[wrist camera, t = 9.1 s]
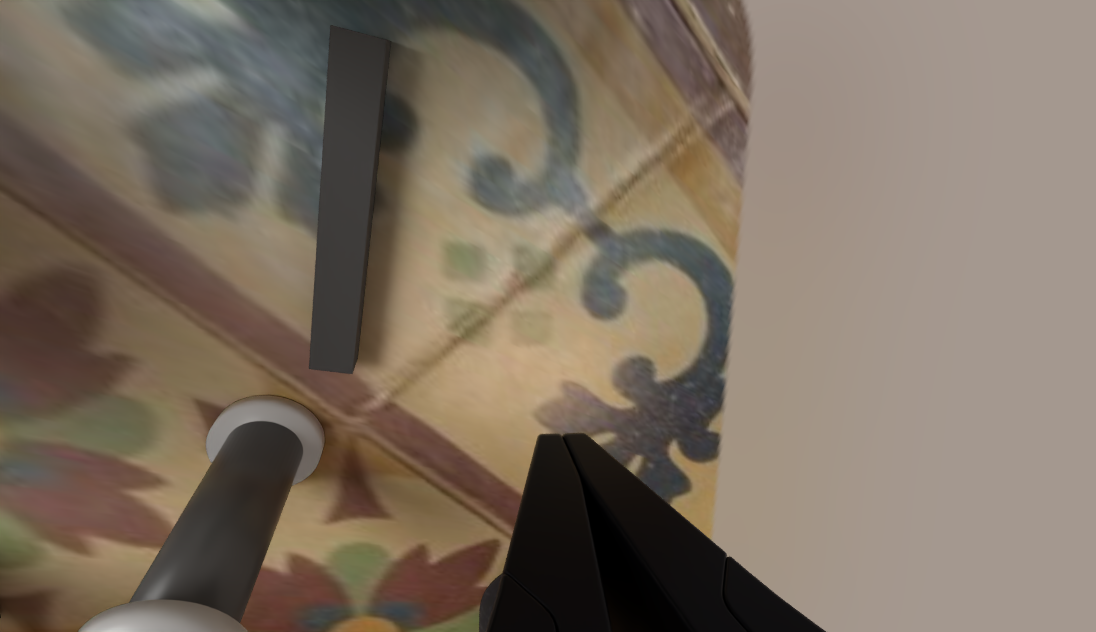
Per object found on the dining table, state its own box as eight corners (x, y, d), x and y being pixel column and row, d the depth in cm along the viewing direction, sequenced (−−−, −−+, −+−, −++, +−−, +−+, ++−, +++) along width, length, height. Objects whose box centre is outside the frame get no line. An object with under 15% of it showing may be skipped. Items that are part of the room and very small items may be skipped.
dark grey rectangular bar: (359, 353, 22) (352, 374, 20) (318, 349, 21) (308, 369, 20) (392, 41, 17) (386, 39, 16) (341, 28, 17) (330, 25, 15)
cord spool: (330, 472, 24) (258, 718, 15) (225, 479, 23) (84, 742, 14) (317, 392, 22) (226, 620, 13) (203, 397, 21) (23, 642, 12)
